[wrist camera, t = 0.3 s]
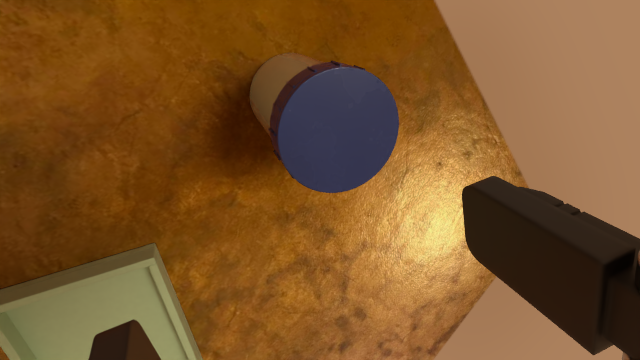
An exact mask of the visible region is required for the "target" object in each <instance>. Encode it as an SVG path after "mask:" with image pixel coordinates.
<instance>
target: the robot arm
mask: <svg viewBox="0 0 640 360" xmlns="http://www.w3.org/2000/svg"><path fill="white" fill-rule="evenodd" d="M462 202H463V214H464V226H465V237H466V242H467V245H468V247H469V249H470V251H471V253H472V255H473V256H474V257H475V258H476V259H477V260H478V261H479V262H480V263H481V264H482V265H484V266H485V267H486V268H487V269H488V270H490V271H491V272H492V273H493V274H495V275H496V276H497V277H498V278H499V279H501V280H502V281H503V282H504V283H506V284H507V285H508V286H509V287H510V288H512V289H513V290H514V291H515V292H517V293H518V294H519V295H520V296H521V297H523V298H524V299H525V300H526V301H528V302H529V303H530V304H532V306H534V307H535V308H536V309H537V310H539V311H540V312H541V313H542V314H543V315H545V316H546V317H547V318H548V319H550V320H551V321H552V322H553V323H554V324H556V325H557V326H558V327H559V328H561V329H562V330H563V331H565V332H566V333H567V334H568V335H569V336H570V337H572V338H573V339H574V340H575V341H577V342H578V343H579V344H580V345H581V346H583V347H584V348H585V349H586V350H587V351H589V352H590V353H591V354H592V355H595V354H597V353H599V352H601V351H603V350H605V349H607V348H608V347H610V346H612V345H615V346H616V347H618V348H619V349H621V350H622V351H623V356H622V360H640V239H639V238H637V237H635V236H633V235H631V234H629V233H627V232H625V231H623V230H621V229H619V228H616V227H614V226H612V225H610V224H608V223H606V222H604V221H602V220H600V219H598V218H596V217H594V216H592V215H590V214H588V213H586V212H582V213H581V212H580V210H579V209H577V208H575V207H573V206H571V205H569V204H564V203H563V201H561V200H559V199H557V198H555V197H553V196H551V195H549V194H547V193H545V192H541V191H537V190H533V189H528V188H524V187H516V186H514V185H512V184H510V183H508V182H506V181H505V180H503V179H501V178H499V177H496V176H491V177H488V178H486V179H484V180H481V181H479V182H476V183H474V184H471V185H469V186H466V187H465V188H464V189H463V192H462ZM89 360H161V358H160V356H159V355H158V353H157V351H156V350H155V348H154V346H153V345H152V343H151V341H150V340H149V338H148V336H147V335H146V333H145V331H144V330H143V328H142V326H141V325H140V323H139V322H138V321H137V320H134V319H133V320H131V321H128V322H126V323H123V324H121V325H118V326H116V327H113V328H111V329H108V330H106V331H103V332H101V333H98V334H96V335H95V337H94V339H93V343H92V347H91V351H90V356H89Z"/></svg>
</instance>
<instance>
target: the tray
mask: <svg viewBox="0 0 640 360" xmlns="http://www.w3.org/2000/svg"><path fill="white" fill-rule="evenodd" d="M133 319H134V320H137V321H138V322H139V323H140V325H141V326H142V328H143V330H144V331H145V333H146V335H147V336H148V338H149V340H150V341H151V343H152V345H153V346H154V348H155V350H156V351H157V353H158V355H159V356H160V358H161V360H203V359H202V356H201V354H200V352H199V349H198V347H197V344H196V342H195V339H194V337H193V335H192V332H191V330H190V327H189V325H188V322H187V320H186V317H185V315H184V313H183V310H182V308H181V305H180V303H179V300H178V298H177V295H176V293H175V291H174V288H173V286H172V283H171V281H170V278H169V276H168V273H167V271H166V269H165V266H164V264H163V261H162V259H161V256H160V254H159V251H158V249H157V247H156V244H155V243H152V244H149V245H146V246H143V247H139V248H136V249H133V250H129V251H126V252H123V253H119V254H116V255H113V256H110V257H106V258H103V259H100V260H96V261H93V262H90V263H87V264H83V265H80V266H77V267H73V268H70V269H67V270H63V271H60V272H57V273H54V274H50V275H47V276H44V277H40V278H37V279H34V280H30V281H27V282H24V283H21V284H17V285H14V286H11V287H7V288H4V289H1V290H0V346H1V348H2V349H3V351H4V352H5V353H6V355H7V356H8V358H9V359H10V360H89V356H90V351H91V347H92V343H93V339H94V337H95V335H96V334H98V333H101V332H103V331H106V330H108V329H111V328H113V327H116V326H118V325H121V324H123V323H126V322H128V321H131V320H133Z"/></svg>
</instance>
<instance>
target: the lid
mask: <svg viewBox="0 0 640 360" xmlns="http://www.w3.org/2000/svg"><path fill="white" fill-rule="evenodd" d="M286 83H287V84H286V85H285V86H284V87H283V89H282V90H281V91H280V93H279V95H278V97H277V98H276V100H275V103H273V108H272V112H271V117H270V127H269V128H268V130H269V131H270V136H271V141H272V145H273V148H274V151H273V152H274V153H275V155H276V156H277V158H278V159H279V160H280V161H281V162H282V163H283V165H284V166H285V168H286V169H287V171H288V172H289V174H290V175H291V176H292V178H294V179H296V180H297V181H298V182H299V183H301V184H302V185H304V186H305V187H308V188H310V189H312V190H316V191H319V192H326V193H337V192H343V191H348V190H351V189H353V188H356V187H358V186H360V185H362V184H364V183H365V182H367V181H368V180H370V179H371V178H372V177H373V176H375V175H376V174H377V173H378V172H379V171H380V170H381V168H382V167H383V166H384V165H385V163H386V162H387V160H388V159H389V157H390V155H391V153H392V151H393V149H394V146H395V143H396V140H397V135H398V128H399V117H398V110H397V107H396V103H395V100H394V98H393V96H392V94H391V92H390V91H389V89H388V88H387V87H386V85H385V84H384V83H383V82H382V81H381V80H380V79H379V78H377V77H376V76H374V75H373V74H371V73H369V72H367V71H365V69H364V68H361V67H358V66H355V65H354V66H350V65H347V64H343V63H338V62H335V61H331V62H327V63H320V64H317V65H313V66H311V67H310V66H307V68H306V69H304V70H303V71H301V72H299V73H298V74H296V75H295V76H294V77H293V78H292V79H290V80H289V81H287V82H286Z"/></svg>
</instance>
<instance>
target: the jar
mask: <svg viewBox="0 0 640 360" xmlns="http://www.w3.org/2000/svg"><path fill="white" fill-rule="evenodd" d="M320 63H324V62H321V61H318V60H316V59H313V58H310V57H308V56H305V55H302V54H297V53H285V54H280V55H277V56H275V57H273V58H271V59H269V60H268V61H266V62H265V63H264V64H263V65H262V66H261V67H260V68H259V70H258V71H257V72H256V74H255V76H254V78H253V81H252V83H251V88H250V104H251V108H252V111H253V113H254V115H255V117H256V118H257V120H258V121H259V123H260V124H261V125H262V127H263V128H264V129H265V131H266V132H267V133H268V134H269V136H270V131H269V130H268V128H269V127H270V117H271V112H272V108H273V103H275V100H276V98H277V97H278V95H279V93H280V91H281V90H282V89H283V87H284V86H285V85H286V84H287V83H286V82H287V81H289V80H290V79H292V78H293V77H294V76H295V75H296V74H298V73H299V72H301V71H303V70H304V69H306V68H307V66H310V67H311V66H313V65H317V64H320ZM270 137H271V136H270Z"/></svg>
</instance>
